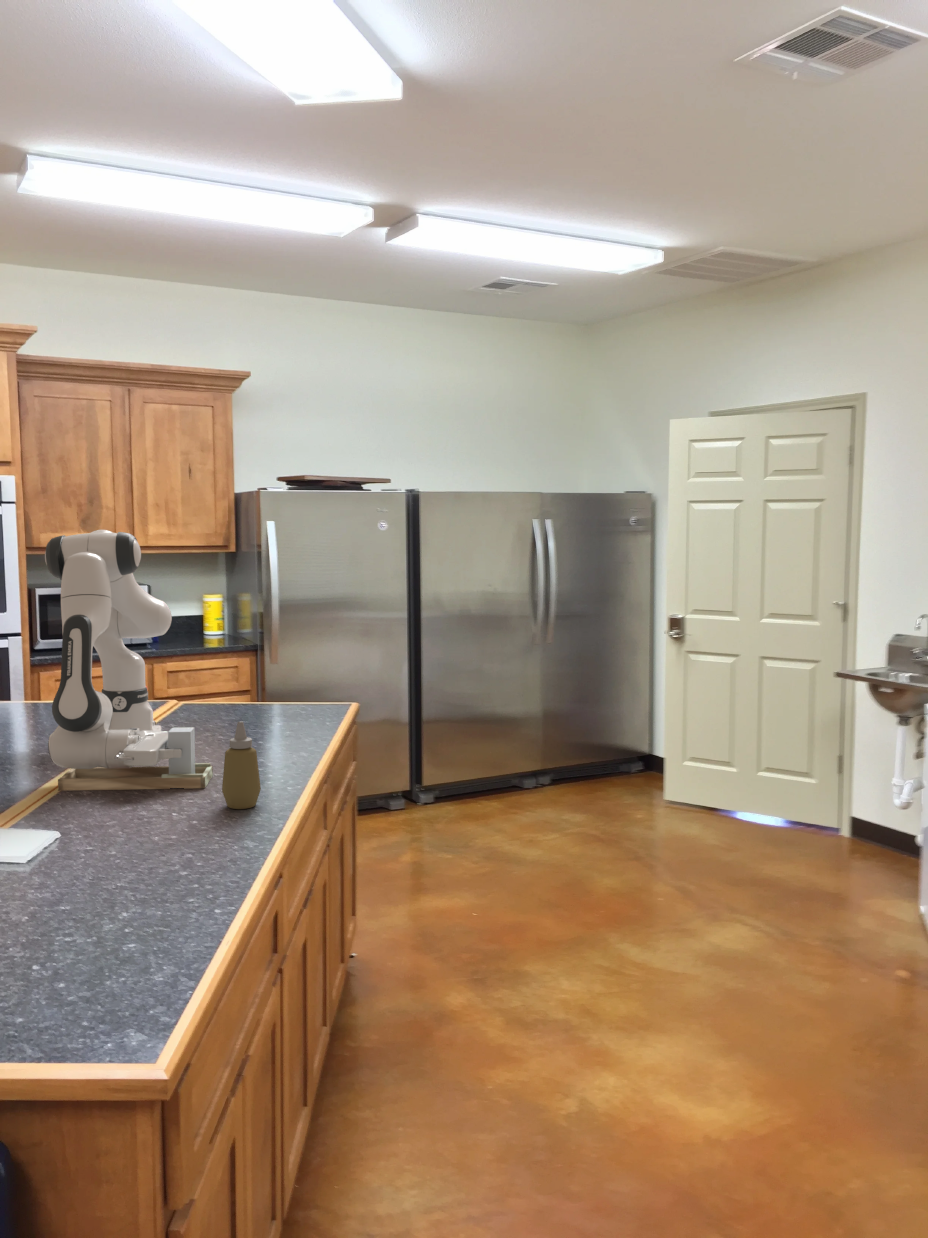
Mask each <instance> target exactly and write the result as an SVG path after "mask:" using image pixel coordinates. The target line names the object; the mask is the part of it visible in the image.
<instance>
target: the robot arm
mask: <svg viewBox="0 0 928 1238" xmlns="http://www.w3.org/2000/svg"><path fill="white" fill-rule="evenodd" d="M141 549H142V548H141V546H140V544H139V542H138V539H137V538H136V536H134V535H133V534H131V533H129V532H124V531H118V532H113V531H110V530H109V529H108V530H107V529H98V530H93V531H91V532H89V533H87V532H86V533H77V534H71V535H64V534H63V535H59V536H55V537H52V538H50V540H49V541H48V542H47V544H46V547H45V552H44V561H45V564H46V567H47V570H48V572H49V573H50V574H51V576H54V577H55V578H57V579H60V582H61V583H60V584H61V586H60V614H61V615H60V616H61V625H62V627H61V629H62V632H61V633H62V641H61V644H62V645H61V662H60V663H61V664H60V665H61V668H60V669H61V670H60V681H59V684H58V685H59V686H58V688H57V691H56V694H55V696H54V698H53V701H52V703H51V704H52V705H51V713H52V717H53V719H54V721H55V722H56V723H57V725H58V726H56V728H55V730H54V731H53V732H52V733H51V734H50V735H49V736H48V741H47V742H48V743H47V750H48V754H49V757H50V759H51V761H52V763H54V764H55V766H57V767H59V768H63V769H69V770H70V769H92V768H95V767H103V768H107V769H119V768H132V767H147V766H156V765H157V764H159V762H160V761H161V760H162V761H163V760H169V759H170V758H180V757H181V756H182V749H181V748H174V749H168V732H169V731H163V730H162V725H159V724H157V722H156V720H154V710H153V708H152V706H151V704H150V703H149V701H148V700H149V691H148V686H147V685H146V663H145V660H144V658H143V657H142V656H141V655H140V654H139V653H137V652H136V651H133V650H131V649H129V648H128V647H127V646H125V644H124V641H123V639H150V638H154V637H160V636H163V635H165V634H166V633H167V632H168V630H169V629H170V627H171V625H172V611H171V609H170V606H168V604H167V603H166V602H165V601H164V600H162V599H158V598H156V597H154V596H153V595H151V594H150V593H148V592H147V591H146V590H145V589H143V588H142V587H141V585H139V584H138V581H137V580H136V578H135V575H134V573H135V572H136V570H138V569H139V568H140V567H139V566H140V562H141V559H142V550H141ZM94 649H95V651H96V653H97V655H98V657H99V660H100V665H101V673H102V689H101V691H98V690H95V688H94V686H93V681H92V678H93V677H92V675H93V673H92V671H93V650H94Z"/></svg>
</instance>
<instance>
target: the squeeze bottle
mask: <svg viewBox="0 0 928 1238" xmlns="http://www.w3.org/2000/svg"><path fill="white" fill-rule="evenodd" d="M234 733H235V734H234V737H232V738H230V739H229V748H228V749H227V750H226V751H224V760H223V761H224V764H223V773H222V774H223V775H222V786H221V792H222V796H223V797H224V798H223V799H224V801H225V803H226V805H227V807H228V808H230V809H234V810H245V809H251V808H254V807H256V805H257V802H258V799H259V795H260V792H261V790H262V789H261V780H260V770H259V762H258V760H259V759H258V753H257V750H256V749H255V748H254V747H253V739H252V738H251V737H248V736H247V733H246V728H245V724H244V721H237V725H236V729H235V732H234Z"/></svg>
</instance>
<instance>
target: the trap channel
mask: <svg viewBox="0 0 928 1238" xmlns="http://www.w3.org/2000/svg"><path fill="white" fill-rule="evenodd" d="M213 767H214V766H213V765H212V764H211V762H195V774H169V765H167V766H166V765H165V766H164V765H162V766H160V765H159V766H156V765H155V766H132V768H119V769H107V768H103V767H95V768H92V769H70V768H69V770H68V771H67V772H65V773H64V774H63V775H61V777H59V778H58V779H57V787H58V788H57V789H58V790H57V791H60V792H61V791H112V790H113V791H114V790H115V791H116V790H118V791H119V790H121V791H122V790H126V791H127V790H170V788H184V789H206V788H207V786H208V784H209V783H210V781H211V779H212V778H213V775H214V773H213V772H214V770H213V769H214V768H213ZM205 787H206V788H205Z"/></svg>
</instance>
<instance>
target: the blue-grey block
mask: <svg viewBox="0 0 928 1238" xmlns="http://www.w3.org/2000/svg"><path fill="white" fill-rule="evenodd" d="M195 730H196V729H195V727H192V726H191V727H189V726H188V727H172V728H170V729H169V731H167V732H168V749H174V748H181V749H182V756H181V757H180V758H170V759H168V766H169V774H195V763H196V748H195V747H196V743H195V742H196V741H195V740H196V739H195V737H196V736H195V733H196V732H195Z"/></svg>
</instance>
